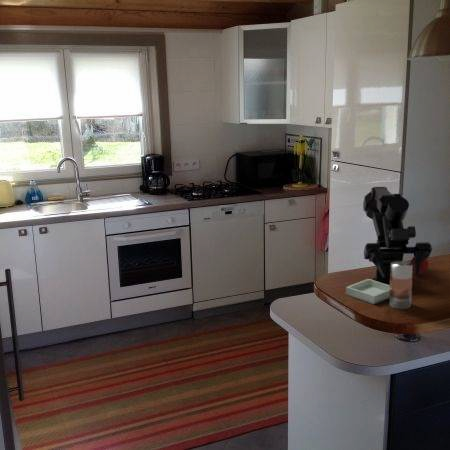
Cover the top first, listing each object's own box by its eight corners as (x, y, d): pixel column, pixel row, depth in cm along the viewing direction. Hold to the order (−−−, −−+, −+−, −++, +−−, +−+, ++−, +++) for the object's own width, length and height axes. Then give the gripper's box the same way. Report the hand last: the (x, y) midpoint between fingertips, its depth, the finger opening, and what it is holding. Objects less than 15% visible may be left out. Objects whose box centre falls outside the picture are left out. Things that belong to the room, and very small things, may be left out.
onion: (429, 278, 178) (430, 255, 176) (411, 277, 180) (412, 254, 178) (426, 272, 184) (427, 249, 182) (408, 271, 185) (409, 249, 183)
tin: (397, 299, 163) (399, 259, 160) (415, 305, 158) (417, 264, 155) (384, 304, 159) (386, 264, 156) (402, 310, 155) (404, 269, 151)
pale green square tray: (368, 286, 174) (368, 278, 173) (396, 295, 166) (396, 287, 165) (346, 294, 168) (346, 286, 167) (373, 304, 160) (374, 296, 159)
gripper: (366, 217, 159) (371, 264, 151) (431, 215, 157) (441, 264, 149) (361, 235, 168) (366, 281, 161) (423, 234, 167) (431, 281, 159)
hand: (400, 276), depth 157 cm, fingers open, 9 cm apart
